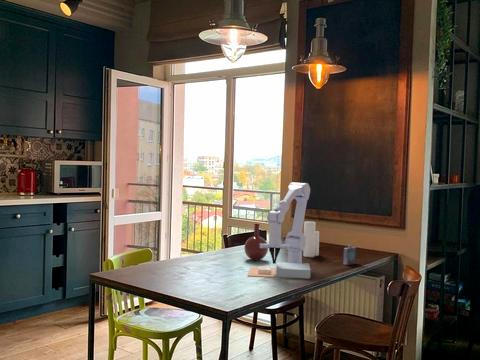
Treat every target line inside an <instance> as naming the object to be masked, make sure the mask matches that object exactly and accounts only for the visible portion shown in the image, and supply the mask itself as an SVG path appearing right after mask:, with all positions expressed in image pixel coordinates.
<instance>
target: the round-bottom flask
mask: <svg viewBox="0 0 480 360" xmlns="http://www.w3.org/2000/svg"><path fill="white" fill-rule="evenodd" d="M253 225H254V228H253V229H254V232H253V234H254V235H253V236H251V237H248V239H247V240H245V241H246V242H245V243H244V246H243V247H244V248H243V250H244V253H245V255H246V257H247V258H249V259H250V260H252V261H261V260H262V259H264V258H265V257H266V256H267V254H268V251H269V248H260V244H268V242H267V241H266V240H265V238H263V237H261V236H260V223H253Z"/></svg>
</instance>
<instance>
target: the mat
mask: <svg viewBox="0 0 480 360" xmlns="http://www.w3.org/2000/svg"><path fill="white" fill-rule="evenodd" d="M258 268H259V267H256V266H255V267H252V266H251V267H250V268H249V270H248V274H247V277H255V278H256V277H258V278H274V279H275V278H276V270H277V267H276V268H274V267H273V268H272V267H271V274H258Z"/></svg>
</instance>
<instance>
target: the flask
mask: <svg viewBox="0 0 480 360" xmlns="http://www.w3.org/2000/svg"><path fill="white" fill-rule="evenodd" d="M356 254H357V247H355V246H352V244H349V243H348V244H347V247H344V248H343V261H342V264H343V265H344V266H348V265H355V264H356Z"/></svg>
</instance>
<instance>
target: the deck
mask: <svg viewBox="0 0 480 360" xmlns="http://www.w3.org/2000/svg"><path fill="white" fill-rule="evenodd" d="M310 266H311V265H310V263H305V262H302V263H288V262H286V261H283V262H279V261H276V274H275V278H290V279H291V278H292V279H311V267H310Z"/></svg>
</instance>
